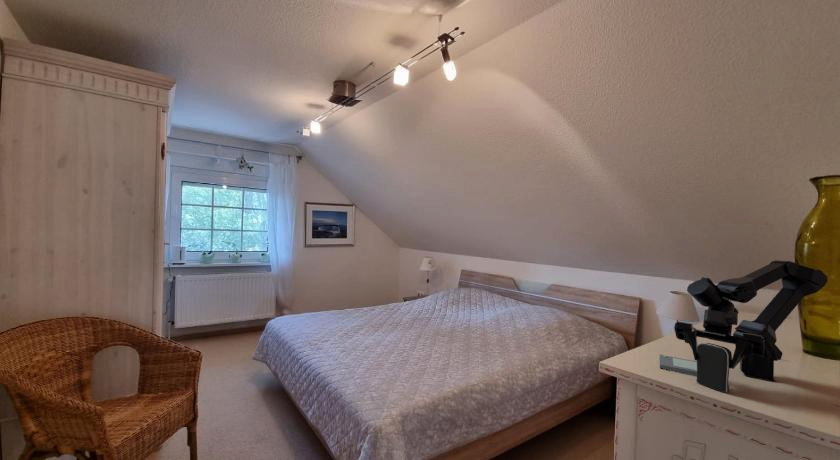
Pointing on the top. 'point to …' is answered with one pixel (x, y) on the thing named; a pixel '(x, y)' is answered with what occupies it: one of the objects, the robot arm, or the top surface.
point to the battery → (713, 366)
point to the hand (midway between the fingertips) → (713, 363)
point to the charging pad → (678, 365)
